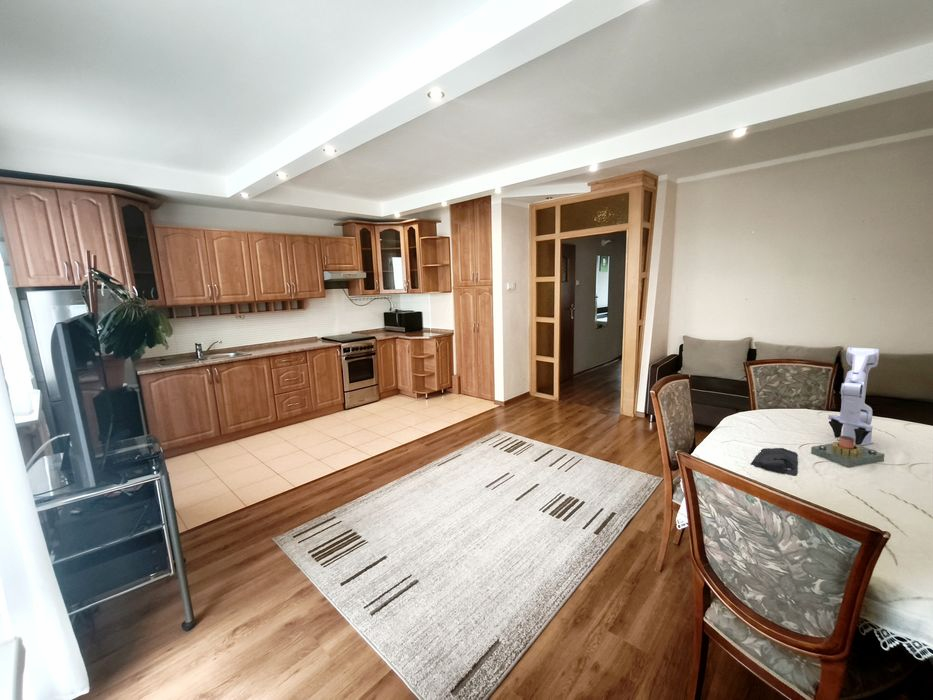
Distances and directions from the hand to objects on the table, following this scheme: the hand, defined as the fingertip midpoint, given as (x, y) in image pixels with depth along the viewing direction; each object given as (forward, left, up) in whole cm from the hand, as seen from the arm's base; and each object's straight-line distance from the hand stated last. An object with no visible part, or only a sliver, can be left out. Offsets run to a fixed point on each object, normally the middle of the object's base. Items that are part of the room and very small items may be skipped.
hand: (847, 440), depth 157 cm
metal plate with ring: (0, 0, -7) cm, 7 cm away
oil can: (0, 0, -6) cm, 6 cm away
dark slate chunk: (+29, -5, -8) cm, 31 cm away
